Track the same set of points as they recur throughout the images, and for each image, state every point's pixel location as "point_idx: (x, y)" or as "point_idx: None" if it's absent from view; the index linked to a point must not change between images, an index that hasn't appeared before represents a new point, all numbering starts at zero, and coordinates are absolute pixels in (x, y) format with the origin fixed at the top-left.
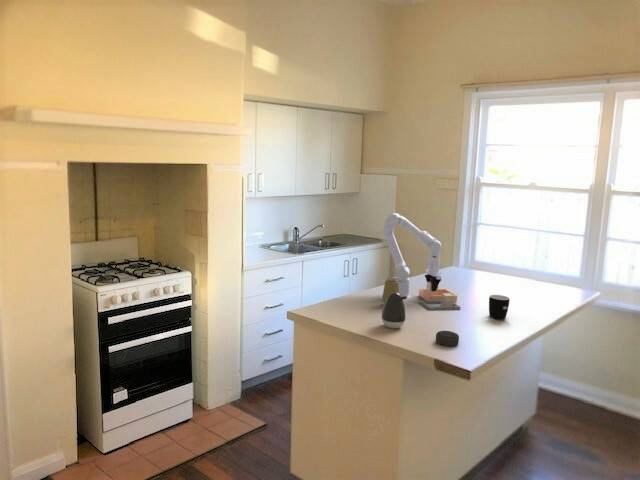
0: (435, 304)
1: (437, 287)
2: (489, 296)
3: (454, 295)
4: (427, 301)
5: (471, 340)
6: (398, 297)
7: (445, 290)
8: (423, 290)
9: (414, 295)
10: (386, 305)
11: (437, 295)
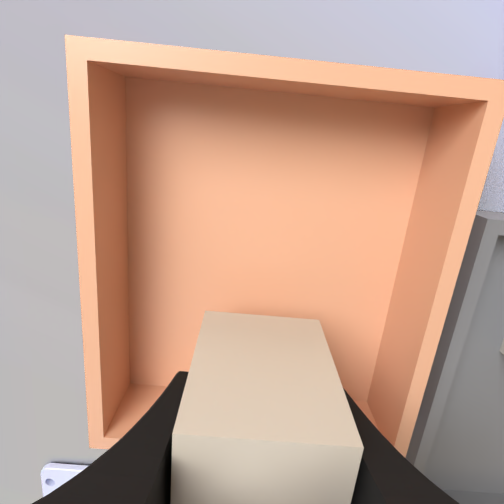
0: (460, 388)
1: (339, 395)
2: None
3: (493, 130)
4: (422, 462)
5: None
6: None
7: (102, 63)
8: (108, 396)
9: (79, 402)
10: None
11: (415, 379)
